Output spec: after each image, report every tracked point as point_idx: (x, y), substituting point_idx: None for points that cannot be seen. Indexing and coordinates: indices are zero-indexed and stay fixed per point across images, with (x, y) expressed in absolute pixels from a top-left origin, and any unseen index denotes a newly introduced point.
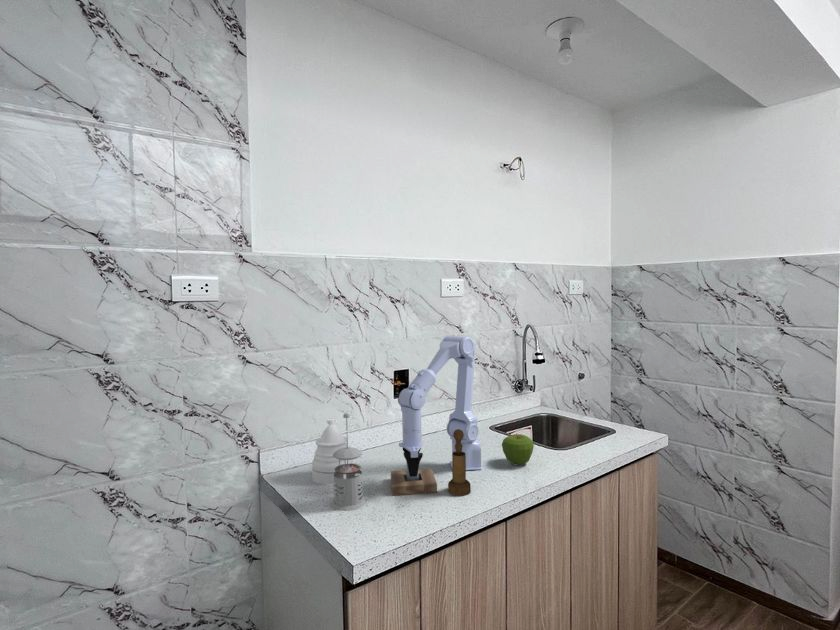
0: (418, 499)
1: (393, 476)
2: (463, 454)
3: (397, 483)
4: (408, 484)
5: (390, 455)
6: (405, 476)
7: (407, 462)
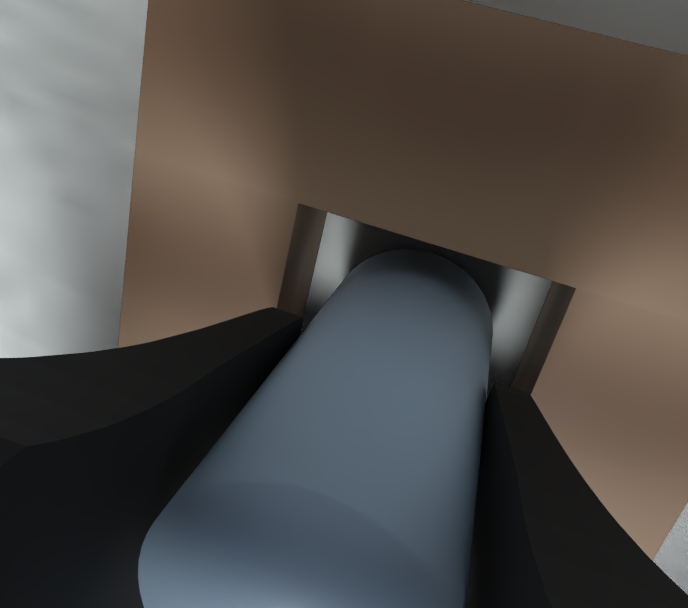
0: (55, 226)
1: (589, 83)
2: None
3: (250, 57)
4: (173, 209)
5: None
6: (563, 301)
7: (29, 364)
